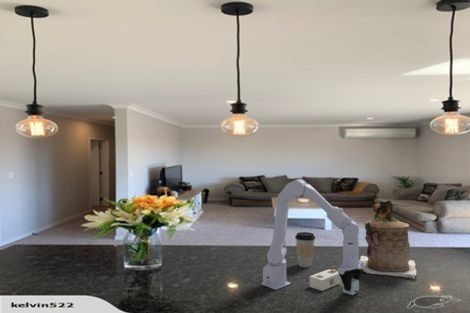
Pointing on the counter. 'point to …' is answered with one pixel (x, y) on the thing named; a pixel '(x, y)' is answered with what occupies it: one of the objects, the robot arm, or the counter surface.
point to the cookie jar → (387, 244)
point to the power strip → (325, 279)
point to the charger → (353, 287)
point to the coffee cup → (305, 248)
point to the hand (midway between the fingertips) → (351, 288)
